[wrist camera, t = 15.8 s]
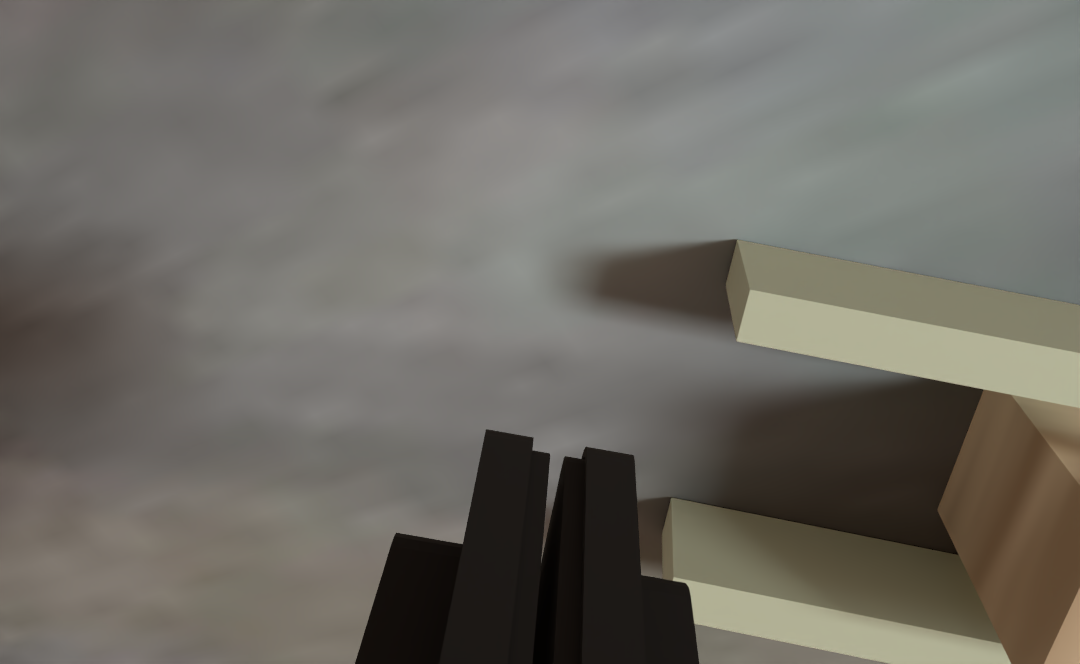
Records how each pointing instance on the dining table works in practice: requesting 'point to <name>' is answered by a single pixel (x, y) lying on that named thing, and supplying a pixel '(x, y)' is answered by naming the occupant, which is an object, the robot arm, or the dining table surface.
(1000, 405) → the tan rectangular block
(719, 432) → the dining table surface
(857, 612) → the cradle
